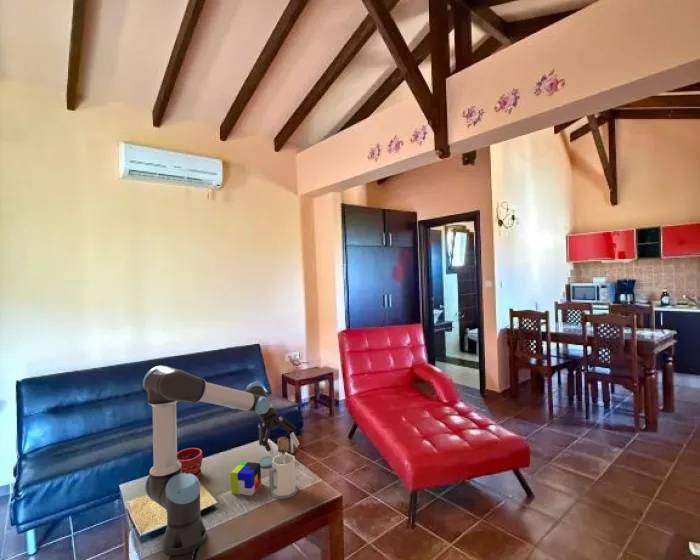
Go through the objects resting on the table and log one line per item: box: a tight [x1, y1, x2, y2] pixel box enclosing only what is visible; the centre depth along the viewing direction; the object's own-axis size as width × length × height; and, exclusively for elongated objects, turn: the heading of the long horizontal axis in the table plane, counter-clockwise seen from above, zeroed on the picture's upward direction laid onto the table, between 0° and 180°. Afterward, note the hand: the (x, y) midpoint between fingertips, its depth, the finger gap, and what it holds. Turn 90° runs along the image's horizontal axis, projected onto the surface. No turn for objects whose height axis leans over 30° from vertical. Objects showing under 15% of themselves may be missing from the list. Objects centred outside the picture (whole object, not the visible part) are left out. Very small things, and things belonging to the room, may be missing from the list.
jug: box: [268, 453, 299, 500], centre depth 174 cm, size 14×12×15 cm
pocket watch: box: [257, 450, 282, 469], centre depth 201 cm, size 10×11×15 cm
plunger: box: [277, 436, 290, 464], centre depth 174 cm, size 8×8×22 cm
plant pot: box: [177, 447, 203, 478], centre depth 190 cm, size 13×13×12 cm
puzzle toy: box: [230, 461, 262, 496], centre depth 178 cm, size 10×10×10 cm
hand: (286, 451), depth 173 cm, fingers open, 13 cm apart
